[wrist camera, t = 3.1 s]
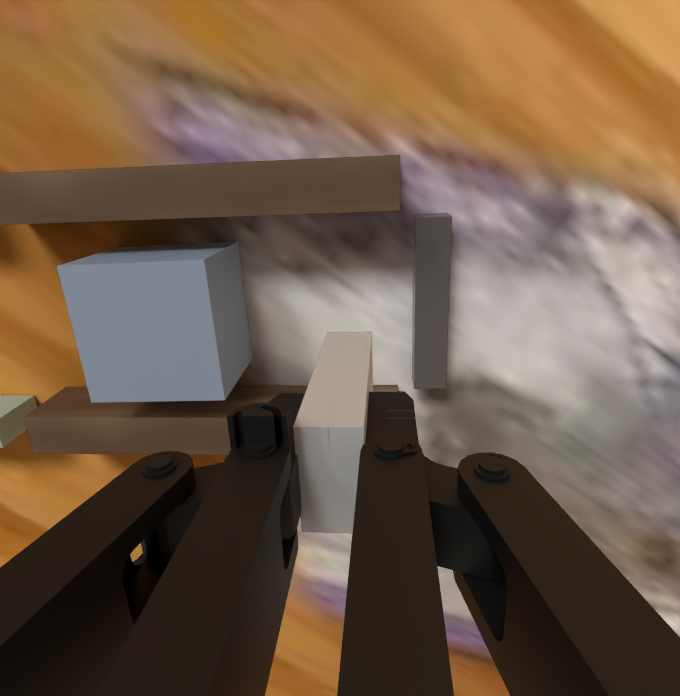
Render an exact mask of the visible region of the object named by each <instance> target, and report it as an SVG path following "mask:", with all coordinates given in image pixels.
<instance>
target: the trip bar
mask: <svg viewBox="0 0 680 696" xmlns="http://www.w3.org/2000/svg"><path fill="white" fill-rule="evenodd" d="M451 224H452V216H450V215H449V214H448V213H443V214H415V215H414V244H413V344H412V378H413V385H414V389H442V388H446V363H447V335H448V307H449V280H450V252H451Z"/></svg>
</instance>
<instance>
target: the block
mask: <svg viewBox="0 0 680 696" xmlns="http://www.w3.org/2000/svg"><path fill="white" fill-rule="evenodd" d="M57 269H58V273H59V277H60V281H61V285H62V289H63V293H64V297H65V301H66V305H67V309H68V313H69V317H70V321H71V325H72V329H73V333H74V337H75V341H76V344H77V348H78V352H79V356H80V360H81V364H82V368H83V372H84V376H85V380H86V384H87V388H88V392H89V396H90V400H91V403H92V402H154V401H216V400H226V398H227V397H228V395H229V394H230V392H231V390H232V389H233V387H234V386H235V384H236V383H237V381H238V380H239V378H240V377H241V375H242V374H243V372H244V371H245V369H246V368H247V366H248V365H249V363H250V362H251V360H252V359H253V357H252V349H251V341H250V333H249V325H248V317H247V309H246V301H245V293H244V285H243V277H242V269H241V261H240V253H239V245H238V241H235V242H213V243H191V244H169V245H147V246H125V247H116V248H113V249H109V250H106V251H103V252H100V253H97V254H93V255H90V256H87V257H84V258H81V259H77V260H74V261H71V262H68V263H65V264H61V265H58V266H57Z"/></svg>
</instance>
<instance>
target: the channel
mask: <svg viewBox="0 0 680 696" xmlns="http://www.w3.org/2000/svg"><path fill="white" fill-rule="evenodd" d="M399 210H400V155H386V156H364V157H343V158H321V159H299V160H277V161H255V162H233V163H211V164H189V165H167V166H146V167H124V168H102V169H80V170H58V171H36V172H14V173H0V225H9V224H37V223H65V222H93V221H121V220H149V219H177V218H204V217H232V216H260V215H288V214H316V213H344V212H372V211H399ZM307 387H308V386H234V387H233V389H232V390H231V392H230V394H229V395H228V397H227V398H226V400H216V401H154V402H92V403H91V400H90V396H89V392H88V388H87V387H65V388H64V389H63V390H61V391H60V392H58V393H57V394H56V395H54V396H53V397H51V398H50V399H48V400H47V401H46V402H44V403H43V404H41V405H40V406H39V407H37V408H36V409H34V410H33V411H31V412H30V413H29V414H27V415H26V416H24V417H23V419H24V423H25V426H26V430H27V433H28V436H29V440H30V443H31V446H32V450H33V453H40V454H154V453H157V452H163V451H179V452H182V453H185V454H188V455H228V454H229V452H230V450H231V446H230V438H229V431H228V423H227V415H228V414H229V413H230V412H231V411H233V410H235V409H237V408H239V407H241V406H245V405H249V404H253V403H269V401H270V400H272V399H273V398H274V397H276V396H277V395H279V394H280V393H306V390H307ZM373 392H398V386H397V385H373Z"/></svg>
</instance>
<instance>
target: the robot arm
mask: <svg viewBox="0 0 680 696" xmlns="http://www.w3.org/2000/svg"><path fill="white" fill-rule="evenodd" d="M227 423H228V431H229V438H230V446H231V450H230V452H229V454H228V456H227V458H226V460H225V461H224V462H223V463H219V464H215V465H210V466H204V467H198V468H194V467H193V461H192V458H191V457H190V456H189V455H188V454H185V453H182V452H179V451H163V452H157V453H154V454H152V455H149V456H147V457H144V458H142V459H141V460H139V461H137V462H136V463H134V464H133V465H132V466H130V467H129V468H128V469H126V470H125V471H124V472H123V473H121V474H120V475H119V476H117V477H116V478H115V479H114V480H112V481H111V482H110V483H108V484H107V485H106V486H105V487H103V488H102V489H101V490H99V491H98V492H97V493H96V494H94V495H93V496H92V497H90V498H89V499H88V500H87V501H85V502H84V503H83V504H81V505H80V506H79V507H78V508H76V509H75V510H74V511H72V512H71V513H70V514H69V515H67V516H66V517H65V518H63V519H62V520H61V521H60V522H58V523H57V524H56V525H54V526H53V527H52V528H51V529H49V530H48V531H47V532H45V533H44V534H43V535H42V536H40V537H39V538H38V539H36V540H35V541H34V542H33V543H31V544H30V545H29V546H28V547H26V548H25V549H24V550H22V551H21V552H20V553H19V554H17V555H16V556H15V557H13V558H12V559H11V560H10V561H8V562H7V563H6V564H4V565H3V566H2V567H1V568H0V696H265V692H266V688H267V684H268V679H269V675H270V670H271V666H272V662H273V657H274V653H275V648H276V644H277V639H278V635H279V631H280V626H281V622H282V617H283V613H284V609H285V604H286V600H287V595H288V591H289V587H290V582H291V578H292V573H293V569H294V565H295V560H296V556H297V551H298V535H297V526H298V522H299V518H300V517H301V529H302V532H326V533H353V534H352V545H351V555H350V566H349V577H348V587H347V598H346V608H345V619H344V630H343V640H342V651H341V662H340V672H339V683H338V694H337V696H454V693H453V686H452V678H451V670H450V662H449V654H448V647H447V639H446V631H445V623H444V615H443V608H442V600H441V592H440V584H439V576H438V569H437V566H440V567H444V568H447V569H450V570H453V573H454V578H455V582H456V584H457V586H458V588H459V590H460V592H461V594H462V596H463V598H464V600H465V602H466V604H467V606H468V609H469V611H470V613H471V615H472V617H473V619H474V621H475V623H476V625H477V627H478V629H479V631H480V633H481V636H482V638H483V640H484V642H485V644H486V646H487V648H488V650H489V652H490V654H491V656H492V658H493V660H494V662H495V665H496V667H497V669H498V671H499V673H500V675H501V677H502V679H503V681H504V683H505V685H506V687H507V689H508V692H509V694H510V696H680V637H679V636H678V635H677V634H676V633H675V632H674V631H673V630H672V628H671V627H670V626H669V625H668V624H667V623H666V622H665V621H664V620H663V619H662V617H661V616H660V615H659V614H658V613H657V612H656V611H655V610H654V609H653V608H652V606H651V605H650V604H649V603H648V602H647V601H646V600H645V599H644V598H643V597H642V595H641V594H640V593H639V592H638V591H637V590H636V589H635V588H634V587H633V586H632V584H631V583H630V582H629V581H628V580H627V579H626V578H625V577H624V576H623V575H622V574H621V572H620V571H619V570H618V569H617V568H616V567H615V566H614V565H613V564H612V563H611V561H610V560H609V559H608V558H607V557H606V556H605V555H604V554H603V553H602V552H601V550H600V549H599V548H598V547H597V546H596V545H595V544H594V543H593V542H592V541H591V539H590V538H589V537H588V536H587V535H586V534H585V533H584V532H583V531H582V530H581V528H580V527H579V526H578V525H577V524H576V523H575V522H574V521H573V520H572V519H571V517H570V516H569V515H568V514H567V513H566V512H565V511H564V510H563V509H562V508H561V507H560V505H559V504H558V503H557V502H556V501H555V500H554V499H553V498H552V497H551V496H550V494H549V493H548V492H547V491H546V490H545V489H544V488H543V487H542V486H541V485H540V483H539V482H538V481H537V480H536V479H535V478H534V477H533V476H532V475H531V474H530V472H529V471H528V470H527V469H526V468H525V467H524V466H523V465H521V464H520V463H519V462H518V461H516V460H514V459H512V458H510V457H507V456H505V455H502V454H495V453H490V452H489V453H476V454H472V455H468V456H467V457H465V458H464V459H462V460H461V461H460V463H459V466H458V468H453V467H448V466H444V465H441V464H438V463H435V462H433V461H431V460H429V459H428V458H427V457H425V456H424V455H423V452H422V449H421V447H420V445H419V444H418V436H417V428H416V419H415V411H414V403H413V399H412V398H411V397H410V396H409V395H408V394H406V393H405V392H373V370H372V332H327V334H326V337H325V340H324V343H323V345H322V348H321V351H320V354H319V357H318V359H317V362H316V365H315V368H314V370H313V373H312V376H311V379H310V382H309V384H308V387H307V390H306V393H280V394H279V395H277V396H276V397H274V398H273V399H272V400H270V401H269V403H253V404H249V405H245V406H241V407H239V408H237V409H235V410H233V411H231V412H230V413H229V414H228V415H227ZM140 543H141V546H142V551H143V554H142V555H141V556H140V557H139V558H138V559H137V560H135V561H134V562H132V560H131V556H130V554H131V552H132V551H133V550H134V549H135V548H136V547H137V546H138V545H139V544H140Z"/></svg>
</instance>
